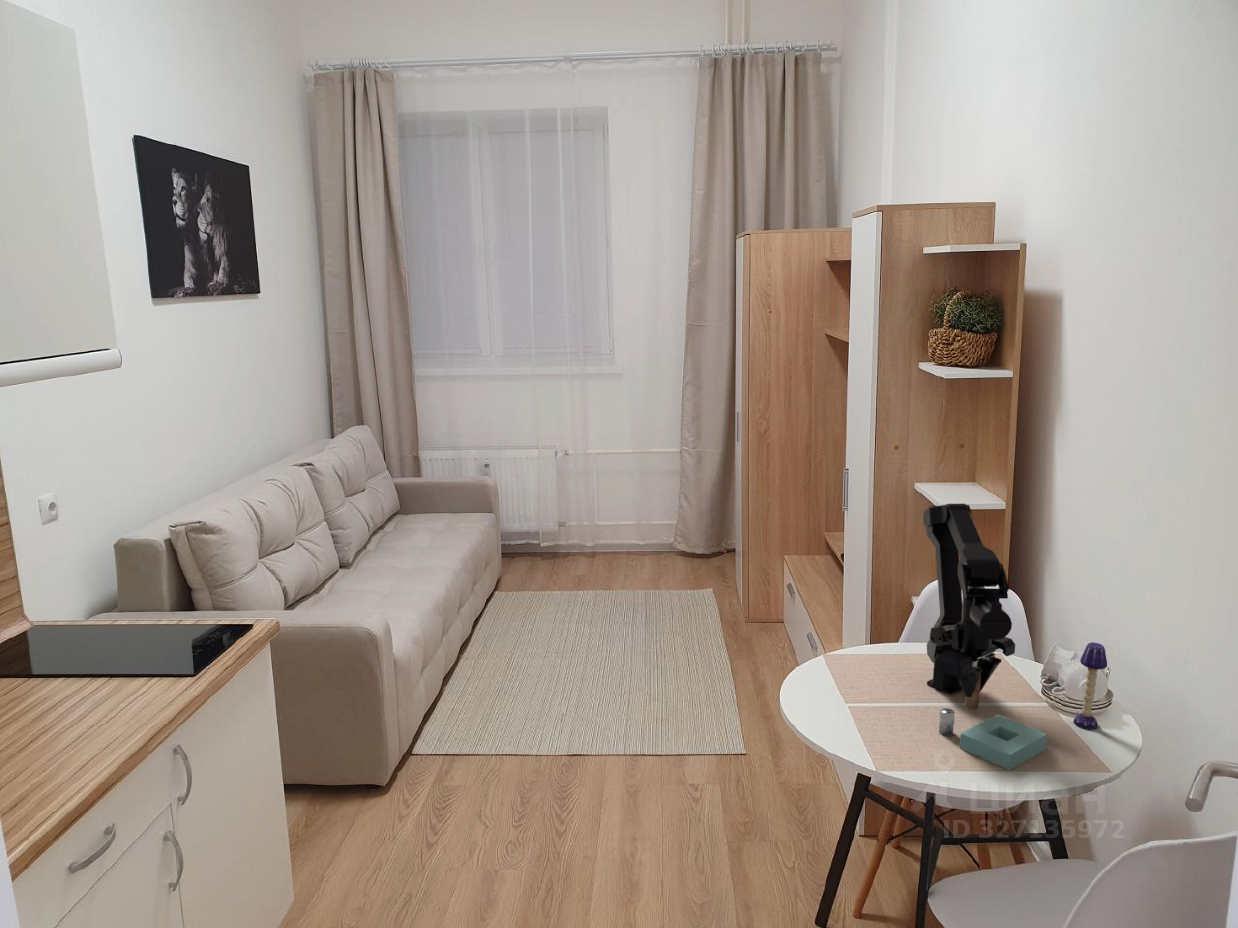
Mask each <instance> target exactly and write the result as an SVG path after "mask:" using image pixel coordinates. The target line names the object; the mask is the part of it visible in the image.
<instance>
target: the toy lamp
mask: <svg viewBox="0 0 1238 928" xmlns="http://www.w3.org/2000/svg"><path fill="white" fill-rule="evenodd" d="M1079 662H1080V664H1081V665H1082V666H1084V667H1086V668H1087V672H1086V678H1087V679H1086V681H1085V687H1084V692H1085V693H1084V694H1083V702H1082V709H1081V713H1079V714H1077V715H1075V717H1074V719H1073V723H1074V724H1075V726H1077V727H1079V728H1082V729H1085V730H1095V729H1097V728H1098V725H1099V724H1098V721H1097V718H1096V717H1094V716H1093V715H1092V713H1093V712H1092V711H1093V710H1092V709H1093V706H1094V704H1093V702H1094V700H1095V692H1096V689H1095V688H1096V685H1097V678H1098V671H1099V670H1105V669H1107V667H1108V659H1107V653H1106V648H1105V646H1104V645H1103V644H1101V643H1098V642H1094V641H1093V642H1088V643H1087V645H1086V646H1085V648H1084V650H1083V653H1082V655H1081V657H1080V661H1079Z"/></svg>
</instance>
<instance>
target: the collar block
mask: <svg viewBox="0 0 1238 928" xmlns="http://www.w3.org/2000/svg"><path fill="white" fill-rule="evenodd" d="M959 735H960V736H959V737H960V738H959V749H961V750H963V751H966V752H968V753H971V754H972V755H974V756H977V757H979V758H981V759H983V760H986V761H987V762H990V763H993V764H994V765H997V766H999V767H1002V768H1003V769H1005V770H1008V771H1010V770H1011V769H1013V768H1015V767H1017V766H1018V765H1020V764H1023V763H1024V762H1026V761H1027V760H1029V759H1031V758H1033V757H1035V756H1036V755H1038V754H1039V753H1042V752H1043V751H1045V750H1046V748H1047V739H1048V738H1047V736H1048V734H1047V733H1045V732H1043V731H1039V730H1038V729H1035V728H1032V727H1030V726H1028V725H1025V724H1022V723H1020V722H1017V721H1015V720H1013V719H1010V718H1007V717H1005V716H1003V715H1001V714H996V715H993V716H991V717H990V718H987V719H986V720H983V721H982V722H979V723H978V724H976V725H974V726H972V727H970V728H968V729H966V730H964V731H962V732H961V733H960V734H959Z"/></svg>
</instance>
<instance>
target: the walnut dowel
mask: <svg viewBox="0 0 1238 928" xmlns="http://www.w3.org/2000/svg"><path fill="white" fill-rule="evenodd" d="M977 668H979V667H977ZM980 669H981V668H980ZM980 683H981V675H980V677H979V679H978V682H977V685H976V687H975V690H974V692H973V694H972V696H971V697H970V698H969V697H966V696H965V695H964V707H965V708H966V709H968V710H971V711H975V710H978V709H980V696H981V692H980Z"/></svg>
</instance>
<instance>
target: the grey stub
mask: <svg viewBox="0 0 1238 928" xmlns="http://www.w3.org/2000/svg"><path fill="white" fill-rule="evenodd" d="M954 726H955V710H954V709H951V708H949V707H946V708H945V707H944V708H940V710H939V727H938V733H939V734H940V735H941V736H944V737H952V736H953V735H954V729H955V728H954Z"/></svg>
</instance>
